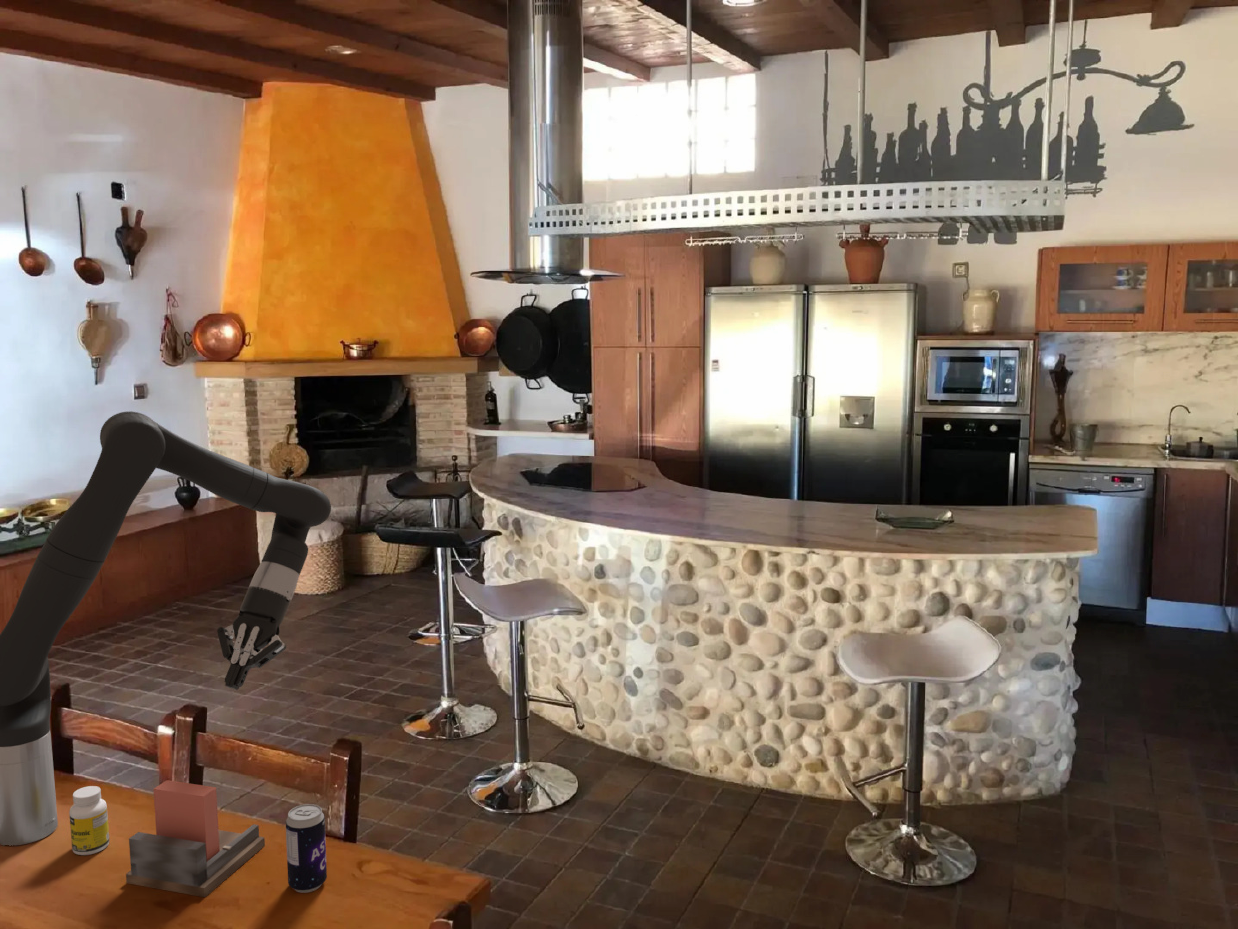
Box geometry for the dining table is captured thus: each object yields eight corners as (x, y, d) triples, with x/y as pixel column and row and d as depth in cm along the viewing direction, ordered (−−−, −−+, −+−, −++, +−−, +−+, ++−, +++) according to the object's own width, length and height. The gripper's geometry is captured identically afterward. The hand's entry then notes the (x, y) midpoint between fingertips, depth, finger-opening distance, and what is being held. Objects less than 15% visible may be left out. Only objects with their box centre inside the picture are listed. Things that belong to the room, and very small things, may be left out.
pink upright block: (158, 860, 152) (153, 788, 151) (171, 850, 155) (166, 780, 154) (207, 869, 150) (203, 796, 148) (220, 859, 153) (216, 787, 151)
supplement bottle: (64, 852, 158) (59, 795, 156) (93, 836, 163) (89, 781, 161) (88, 859, 156) (84, 802, 154) (117, 842, 161) (113, 787, 159)
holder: (126, 883, 149) (123, 837, 148) (191, 834, 164) (189, 792, 163) (204, 897, 146) (202, 851, 145) (264, 845, 160) (262, 803, 159)
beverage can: (315, 898, 146) (312, 823, 144) (281, 893, 147) (277, 819, 146) (333, 877, 152) (331, 805, 150) (300, 872, 153) (297, 801, 151)
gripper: (227, 578, 170) (186, 674, 163) (294, 592, 168) (255, 691, 161) (247, 592, 177) (208, 685, 170) (312, 606, 174) (275, 701, 167)
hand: (231, 687), depth 165 cm, fingers closed
